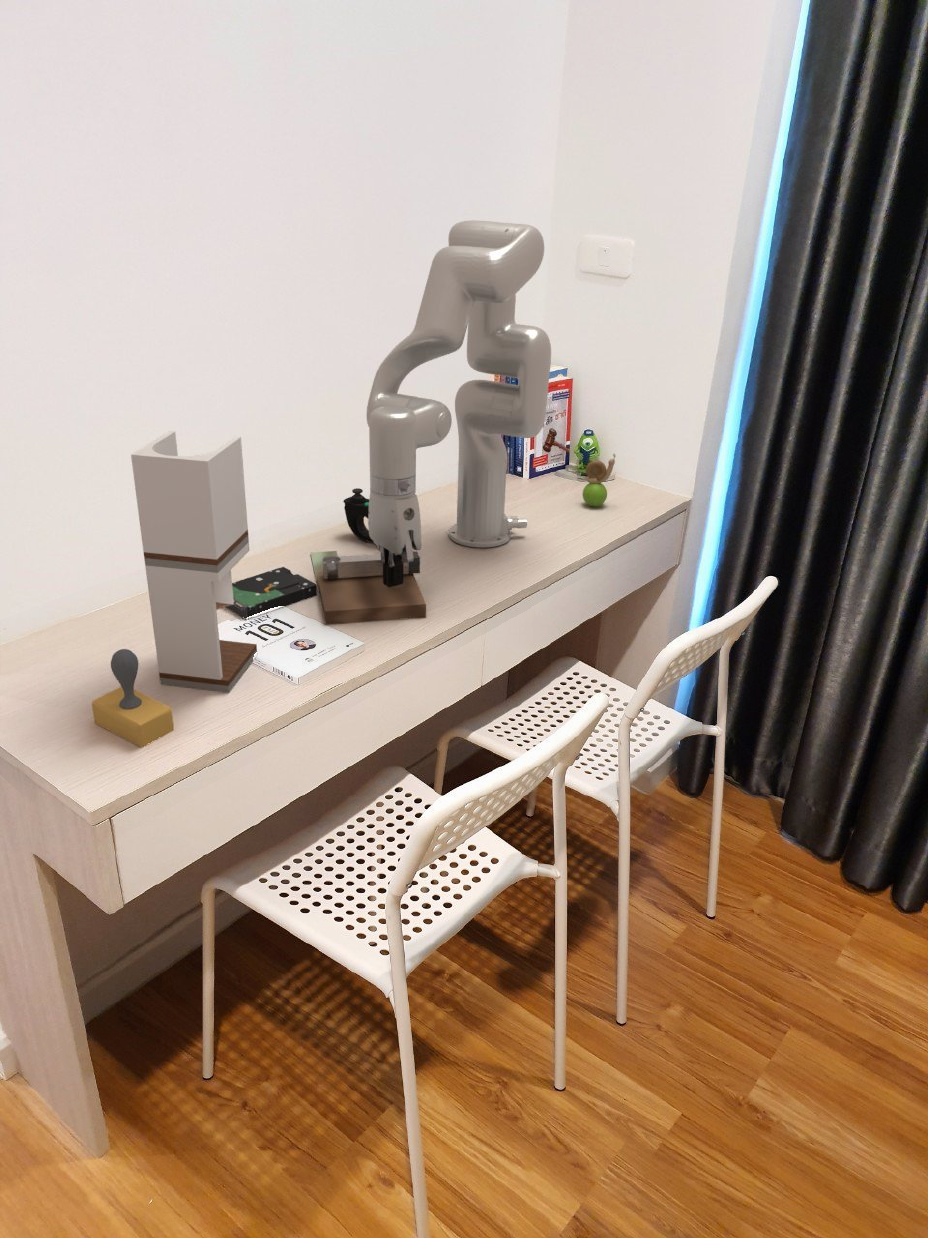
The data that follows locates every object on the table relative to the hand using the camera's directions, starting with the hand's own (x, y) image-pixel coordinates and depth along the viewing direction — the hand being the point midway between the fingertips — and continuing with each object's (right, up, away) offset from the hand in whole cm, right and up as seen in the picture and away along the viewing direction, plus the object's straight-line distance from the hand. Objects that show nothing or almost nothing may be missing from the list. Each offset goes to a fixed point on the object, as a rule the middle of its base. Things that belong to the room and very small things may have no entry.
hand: (393, 584), depth 169 cm
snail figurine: (+42, +19, +48) cm, 67 cm away
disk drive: (-22, -3, +2) cm, 23 cm away
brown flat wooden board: (-6, 0, +8) cm, 10 cm away
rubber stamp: (-33, -21, -35) cm, 53 cm away
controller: (-6, +9, +26) cm, 29 cm away
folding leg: (-4, +2, +5) cm, 7 cm away
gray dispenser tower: (-26, -14, -21) cm, 36 cm away
